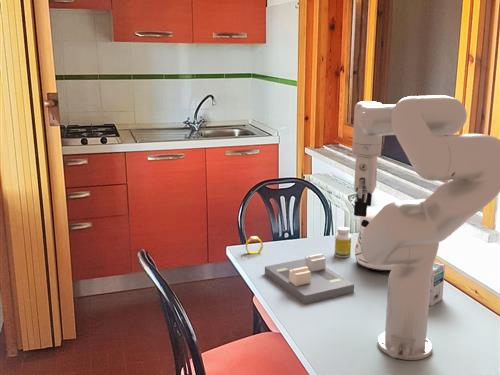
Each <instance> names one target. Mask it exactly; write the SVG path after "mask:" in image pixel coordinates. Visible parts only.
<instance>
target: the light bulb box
mask: <svg viewBox="0 0 500 375" xmlns="http://www.w3.org/2000/svg"><path fill="white" fill-rule="evenodd" d="M445 268H446V264H445V263H441V262H437V261H434V265H433V270H432V277H431V287H430V297H429V306H431V307H432V306H435V305H436V304H437V303H439V302H440V301H441V300H443V296H444V284H445V283H444V280H445Z"/></svg>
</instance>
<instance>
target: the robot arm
mask: <svg viewBox="0 0 500 375" xmlns="http://www.w3.org/2000/svg"><path fill="white" fill-rule="evenodd" d="M353 114H354V115H353V127H352V129H353V130H352V132H353V133H352V148H351V155H353V156H354V157H355V165H354V183H353V187H354V192H355V193H356V194H355V200H354V207H353V208H354V209H353V211H354V212H353V216H355V217H359V216H362V217H366V215H367V208H368V207H372V206H371V205H372V199H373V198H372V196H373V193H374V192H375V190H376V189H377V174H378V172H377V171H378V170H377V169H378V157H380V156H381V155H382V142H383V136H395V137H396V139H397V142H398V143H399V145H400V147H401V148H402V150H403V152H404V153H405V156H406V157H407V160H408V161H409V163H410V165H411V167H412V168H413V170H414V172H416V174H417V175H418V176H419V177H420V178H422V179H424V180H426V181H430V182H431V181H433V182H434V181H435V182H436V181H439V182H440V181H446V182H444V183H443V184H440V185H439V186H438V187H437V188H436V189H435V190H434V192H433V193H432V194H431V195H429V196H428V197H426V198H422V199H413V200H412V199H410V200H401V201H400V200H399V201H395V202H394V201H393V202H390V203H388V204H386V205H384V206H382V207H383V208H382V209H381V210H380V211H379V212H378V213H377V214H376V216H375V217H374V218H373V219H372V220H371V222H370V223H369V224H368V225H367V226H366V228H365V230H364V231H363V234H362V237H361V242H360V247H361V252H362V255H363V257H364V258H365V259H366V261H368V262H369V263H370V264H373V265H378V266H381V265H392V264H394V266H393V267H392V269H391V271H389V276H388V281H387V282H388V283H387V296H386V297H387V298H386V315H385V328H384V330H385V331H384V332H383V333H380V335H379V336H378V338H377V345H378V347H379V349H380V350H381V351H382V352H383V353H385V354H386V355H388V356H390V357H391V358H393V359H394V358H396V359H400V360H404V361H405V360H406V361H417V360H423V359H425V358H428V357H429V356H430V355H431V354H432V351H433V343H432V342H431V340H430V339H428V337H427V332H428V330H427V329H428V322H429V321H428V316H429V306H430V305H429V297H430V287H431V277H432V270H433V265H434V262H436V257H437V255H438V250H439V246H440V243H441V242H443V241H444V240H446V239H447V238H449V237H450V236H452V234H453V233H455V232H456V231H457V230H458V229H460V227H461V226H463V225H464V224H465V223H466V222H467V221H469V219H471V218H472V217H473V216H475V214H477V213H478V212H480V211H482V210H483V209H484V208H485V207H486V206H488V205H489V204H490V203H491V202H492V201H494V199H495V198H497V196H498V195H499V193H500V139H499V138H497V137H495V136H492V135H490V134H485V133H484V134H483V133H460V134H459V133H458V132H459V131H461V130H462V128H463V127H464V126H465V124H466V122H467V118H468V116H467V115H468V114H467V110H466V107H465V106H464V103H462V102H461V101H460V100H459V99H457V98H455V97H452V96H449V95H418V96H417V95H414V96H413V95H410V96H407V97H403V98H401V99H400V100H399V101H398V102H396V103H395V104H382V103H381V102H377V101H371V100H369V101H366V100H365V101H364V100H363V101H359V102H357V103H356V104H355V105H354V113H353ZM457 133H458V134H457Z"/></svg>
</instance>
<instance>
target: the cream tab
mask: <svg viewBox="0 0 500 375" xmlns="http://www.w3.org/2000/svg"><path fill="white" fill-rule="evenodd" d="M289 281H290V282H291V283H292V284H294V285H295V286H299V285H303V284H308V283H311V272H310V271H309V270H308V267H307V266H306V267H301V268H296V269H292V270H289Z"/></svg>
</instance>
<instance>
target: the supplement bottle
mask: <svg viewBox="0 0 500 375" xmlns="http://www.w3.org/2000/svg"><path fill="white" fill-rule="evenodd" d="M350 230H351V229H350V227H347V226H339V227H337V233H336V234H335V237H334V238H335V240H334V256H335V257H337V258H342V259H345V258H349V257H350V256H351V247H352V246H351V245H352V236H351V234H350Z"/></svg>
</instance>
